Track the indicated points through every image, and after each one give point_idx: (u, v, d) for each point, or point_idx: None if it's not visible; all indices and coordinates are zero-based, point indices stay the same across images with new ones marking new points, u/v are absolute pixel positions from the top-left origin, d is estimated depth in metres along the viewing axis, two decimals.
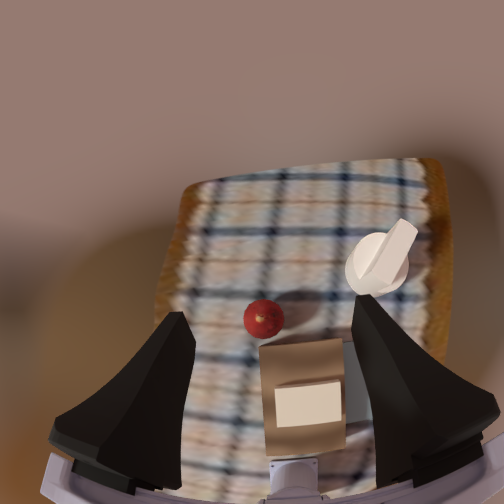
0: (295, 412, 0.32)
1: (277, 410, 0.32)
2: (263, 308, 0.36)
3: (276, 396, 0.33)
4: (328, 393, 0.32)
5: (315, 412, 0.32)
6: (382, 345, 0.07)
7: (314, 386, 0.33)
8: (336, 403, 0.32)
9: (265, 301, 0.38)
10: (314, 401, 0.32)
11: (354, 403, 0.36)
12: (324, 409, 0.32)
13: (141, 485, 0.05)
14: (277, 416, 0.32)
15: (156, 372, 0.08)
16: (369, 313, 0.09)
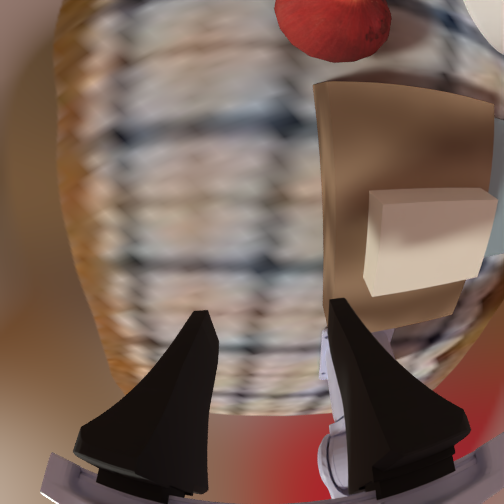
0: (415, 262, 0.14)
1: (380, 259, 0.14)
2: None
3: (384, 224, 0.13)
4: (478, 222, 0.12)
5: (448, 261, 0.14)
6: (350, 351, 0.08)
7: (461, 203, 0.12)
8: (482, 244, 0.13)
9: None
10: (454, 238, 0.13)
11: None
12: (463, 255, 0.13)
13: (173, 492, 0.05)
14: (377, 273, 0.14)
15: (186, 373, 0.08)
16: (340, 317, 0.09)
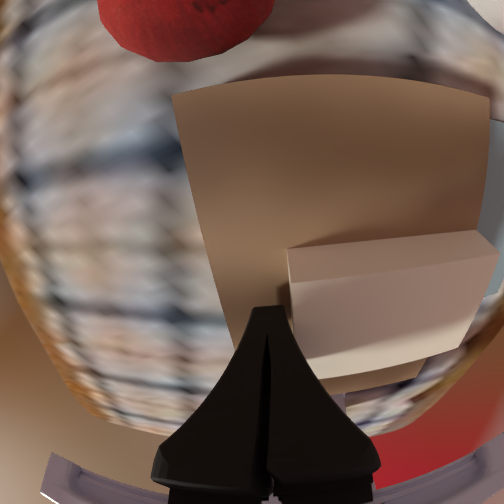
0: (358, 347, 0.10)
1: (300, 347, 0.10)
2: None
3: (298, 308, 0.09)
4: (465, 288, 0.08)
5: (413, 340, 0.10)
6: (270, 360, 0.08)
7: (439, 268, 0.08)
8: (468, 312, 0.09)
9: None
10: (423, 313, 0.09)
11: None
12: (437, 330, 0.10)
13: (257, 500, 0.05)
14: None
15: (263, 372, 0.08)
16: (269, 325, 0.09)
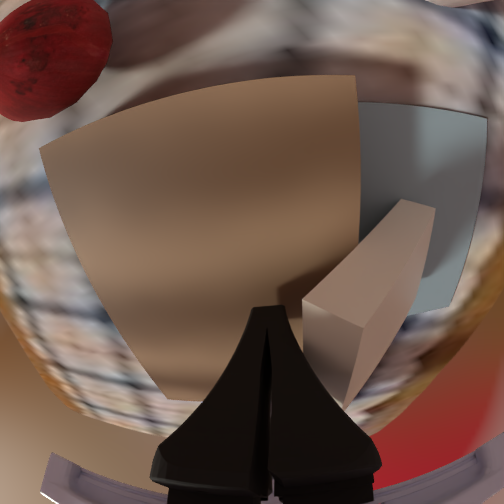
0: (379, 348, 0.10)
1: (350, 385, 0.08)
2: (0, 24, 0.03)
3: (360, 350, 0.07)
4: (424, 249, 0.11)
5: (402, 313, 0.11)
6: (271, 360, 0.08)
7: (419, 242, 0.09)
8: (422, 266, 0.12)
9: (27, 2, 0.03)
10: (409, 286, 0.10)
11: None
12: (411, 294, 0.12)
13: (256, 500, 0.05)
14: (346, 397, 0.09)
15: (262, 372, 0.08)
16: (269, 325, 0.09)
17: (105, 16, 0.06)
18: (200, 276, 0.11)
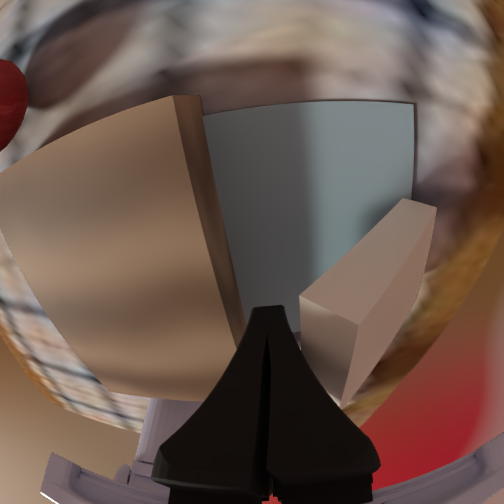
0: (378, 346, 0.10)
1: (348, 382, 0.08)
2: None
3: (356, 347, 0.07)
4: (425, 248, 0.11)
5: (402, 312, 0.11)
6: (270, 360, 0.08)
7: (419, 240, 0.09)
8: (424, 266, 0.12)
9: None
10: (409, 285, 0.10)
11: (277, 296, 0.16)
12: (412, 293, 0.12)
13: (258, 500, 0.05)
14: (343, 395, 0.09)
15: (263, 372, 0.08)
16: (269, 325, 0.09)
17: (14, 76, 0.06)
18: (93, 284, 0.11)
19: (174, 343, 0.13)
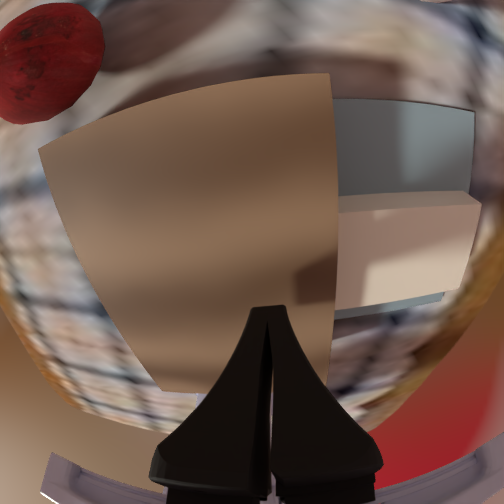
0: (382, 274, 0.13)
1: (340, 272, 0.13)
2: None
3: (341, 235, 0.12)
4: (457, 230, 0.12)
5: (422, 273, 0.13)
6: (272, 360, 0.08)
7: (436, 209, 0.11)
8: (463, 253, 0.12)
9: None
10: (428, 247, 0.12)
11: None
12: (440, 266, 0.13)
13: (256, 500, 0.05)
14: (338, 286, 0.14)
15: (261, 372, 0.08)
16: (270, 325, 0.09)
17: (97, 24, 0.06)
18: (188, 268, 0.11)
19: None
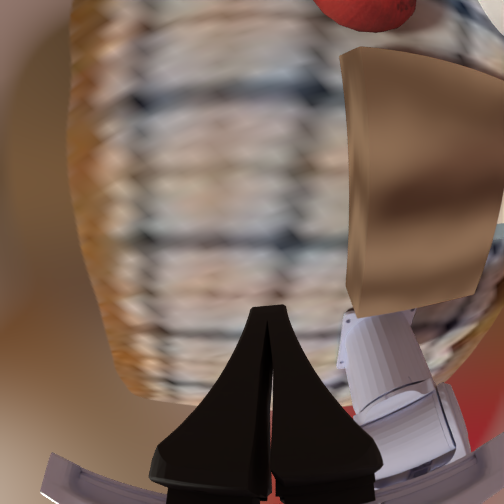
0: None
1: None
2: None
3: None
4: None
5: None
6: (272, 360, 0.08)
7: None
8: None
9: None
10: None
11: None
12: None
13: (256, 500, 0.05)
14: None
15: (261, 372, 0.08)
16: (271, 325, 0.09)
17: None
18: (449, 171, 0.13)
19: (470, 228, 0.14)
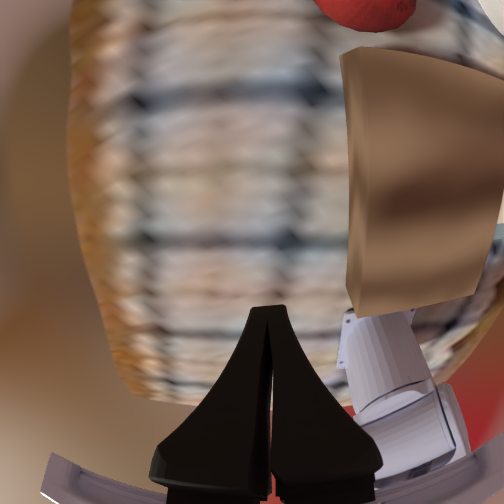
0: None
1: None
2: None
3: None
4: None
5: None
6: (272, 360, 0.08)
7: None
8: None
9: None
10: None
11: None
12: None
13: (256, 500, 0.05)
14: None
15: (261, 372, 0.08)
16: (271, 325, 0.09)
17: None
18: (449, 171, 0.13)
19: (470, 228, 0.14)
